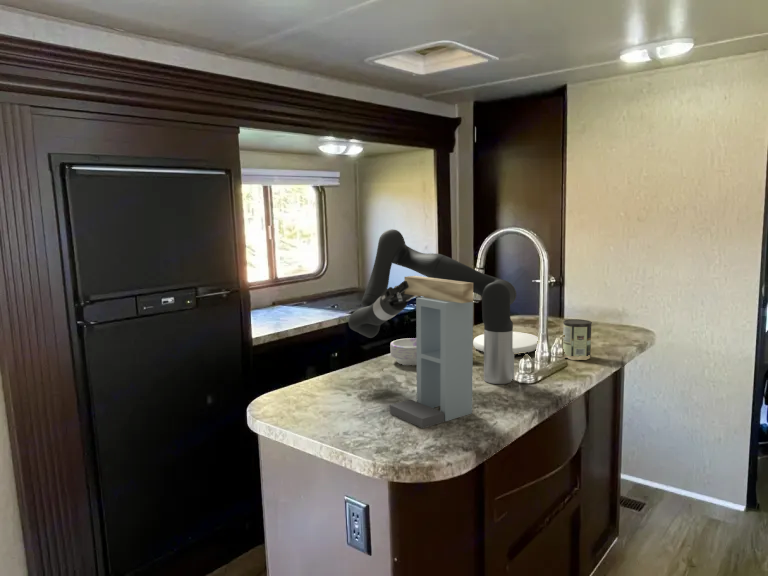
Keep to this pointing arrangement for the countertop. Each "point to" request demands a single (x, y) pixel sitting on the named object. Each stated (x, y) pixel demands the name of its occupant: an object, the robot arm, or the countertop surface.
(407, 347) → the white bowl
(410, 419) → the charcoal block
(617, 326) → the countertop surface
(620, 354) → the countertop surface
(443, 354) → the slate stand
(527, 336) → the plate
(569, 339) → the coffee can
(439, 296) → the maple bar
